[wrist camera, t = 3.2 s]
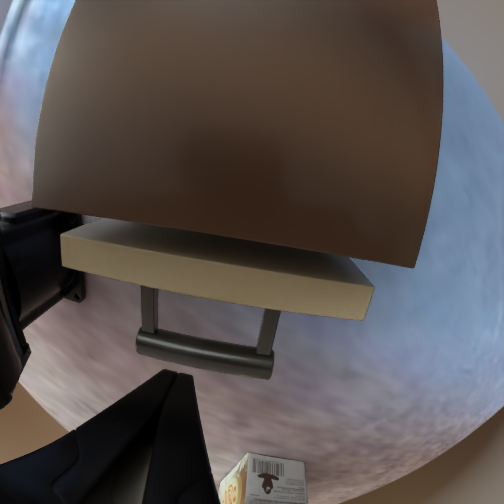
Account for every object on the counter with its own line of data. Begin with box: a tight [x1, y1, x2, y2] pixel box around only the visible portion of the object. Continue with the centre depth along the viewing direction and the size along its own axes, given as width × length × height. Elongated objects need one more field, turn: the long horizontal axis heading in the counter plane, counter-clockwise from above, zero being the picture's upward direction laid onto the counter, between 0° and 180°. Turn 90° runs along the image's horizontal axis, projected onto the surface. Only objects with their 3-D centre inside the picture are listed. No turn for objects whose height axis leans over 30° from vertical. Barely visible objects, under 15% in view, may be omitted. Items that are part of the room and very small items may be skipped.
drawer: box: [60, 218, 374, 380], centre depth 10 cm, size 17×10×7 cm, turn 171°
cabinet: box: [32, 0, 443, 268], centre depth 9 cm, size 14×12×9 cm
